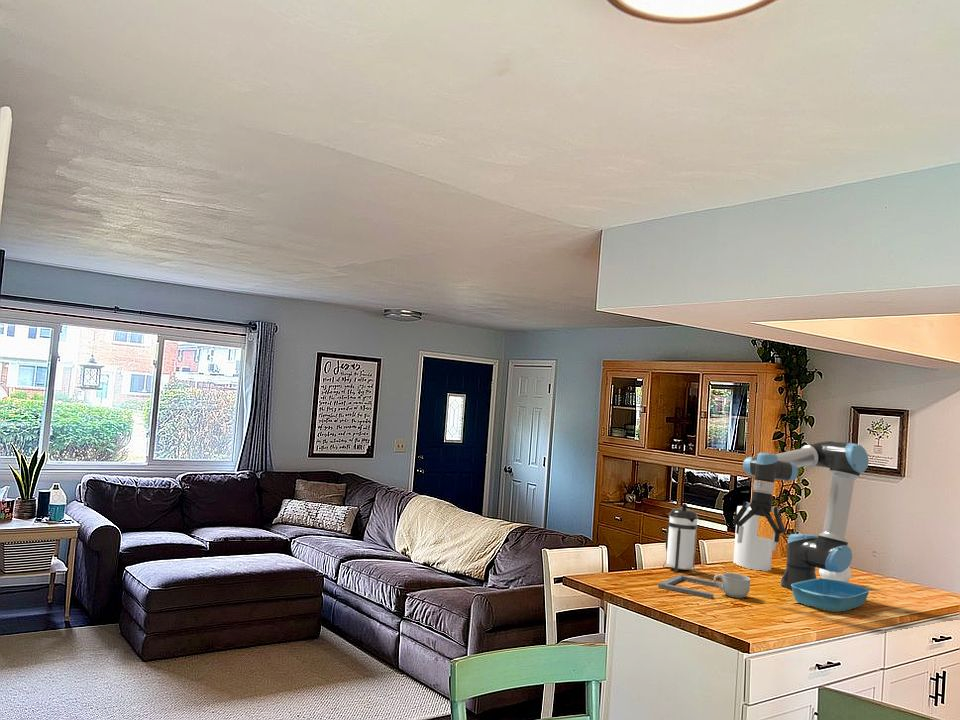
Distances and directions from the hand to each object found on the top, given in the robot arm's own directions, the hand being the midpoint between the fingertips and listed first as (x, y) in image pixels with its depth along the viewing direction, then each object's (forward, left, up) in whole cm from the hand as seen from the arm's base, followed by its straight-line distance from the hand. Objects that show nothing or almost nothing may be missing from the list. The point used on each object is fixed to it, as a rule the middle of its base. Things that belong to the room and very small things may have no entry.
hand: (756, 546), depth 305 cm
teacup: (+8, -1, -21) cm, 23 cm away
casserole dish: (-25, -23, -21) cm, 40 cm away
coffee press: (+40, -33, -21) cm, 56 cm away
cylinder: (+17, -76, -21) cm, 81 cm away
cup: (-20, -74, -21) cm, 79 cm away
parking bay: (+22, -1, -21) cm, 31 cm away
